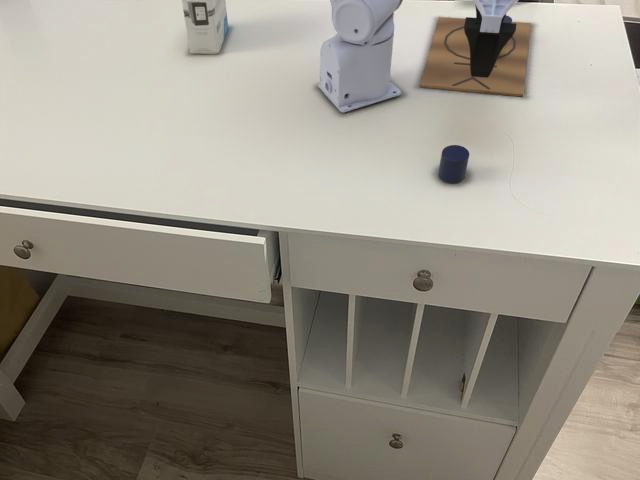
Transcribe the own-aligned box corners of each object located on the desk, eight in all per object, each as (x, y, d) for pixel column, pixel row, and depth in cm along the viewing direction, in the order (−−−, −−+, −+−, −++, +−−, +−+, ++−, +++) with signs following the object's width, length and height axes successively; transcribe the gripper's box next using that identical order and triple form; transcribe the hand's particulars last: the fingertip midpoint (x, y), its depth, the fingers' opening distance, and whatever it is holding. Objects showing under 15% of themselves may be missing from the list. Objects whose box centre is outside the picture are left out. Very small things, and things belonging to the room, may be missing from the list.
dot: (447, 186, 81) (451, 164, 79) (433, 171, 83) (436, 149, 81) (470, 178, 82) (474, 156, 79) (455, 164, 84) (459, 141, 81)
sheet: (522, 96, 92) (523, 93, 91) (419, 87, 95) (419, 84, 95) (530, 25, 103) (531, 22, 103) (438, 19, 107) (438, 16, 107)
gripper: (542, -24, 68) (512, 94, 78) (545, -81, 76) (519, 32, 87) (470, -27, 70) (451, 88, 80) (481, -82, 78) (463, 28, 89)
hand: (482, 59), depth 83 cm, fingers open, 7 cm apart
